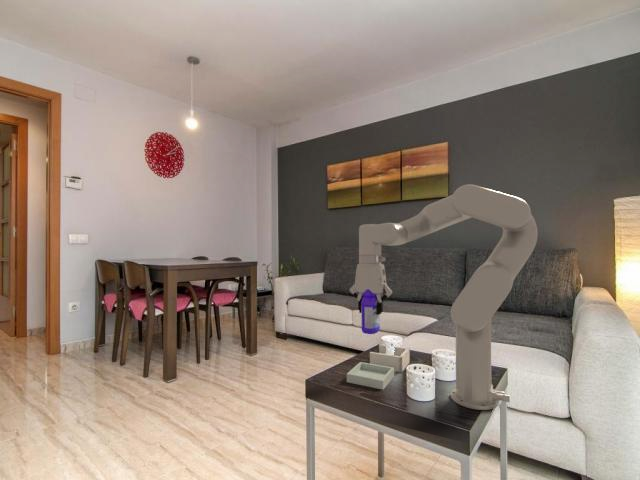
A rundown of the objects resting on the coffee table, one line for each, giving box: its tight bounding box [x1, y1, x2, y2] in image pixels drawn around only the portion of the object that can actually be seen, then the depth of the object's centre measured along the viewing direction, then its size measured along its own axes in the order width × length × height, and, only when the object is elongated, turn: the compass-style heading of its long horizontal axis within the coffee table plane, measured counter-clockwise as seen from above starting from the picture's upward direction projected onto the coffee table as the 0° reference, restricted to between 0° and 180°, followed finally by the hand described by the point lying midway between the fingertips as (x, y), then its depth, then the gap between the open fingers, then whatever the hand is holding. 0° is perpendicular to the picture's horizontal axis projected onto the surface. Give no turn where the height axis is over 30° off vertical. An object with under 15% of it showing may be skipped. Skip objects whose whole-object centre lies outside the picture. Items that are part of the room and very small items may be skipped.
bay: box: [369, 344, 411, 374], centre depth 128 cm, size 12×12×6 cm
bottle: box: [360, 289, 381, 335], centre depth 115 cm, size 7×6×17 cm
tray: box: [346, 361, 395, 390], centre depth 115 cm, size 13×13×3 cm
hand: (370, 312), depth 115 cm, fingers closed on bottle, 5 cm apart
